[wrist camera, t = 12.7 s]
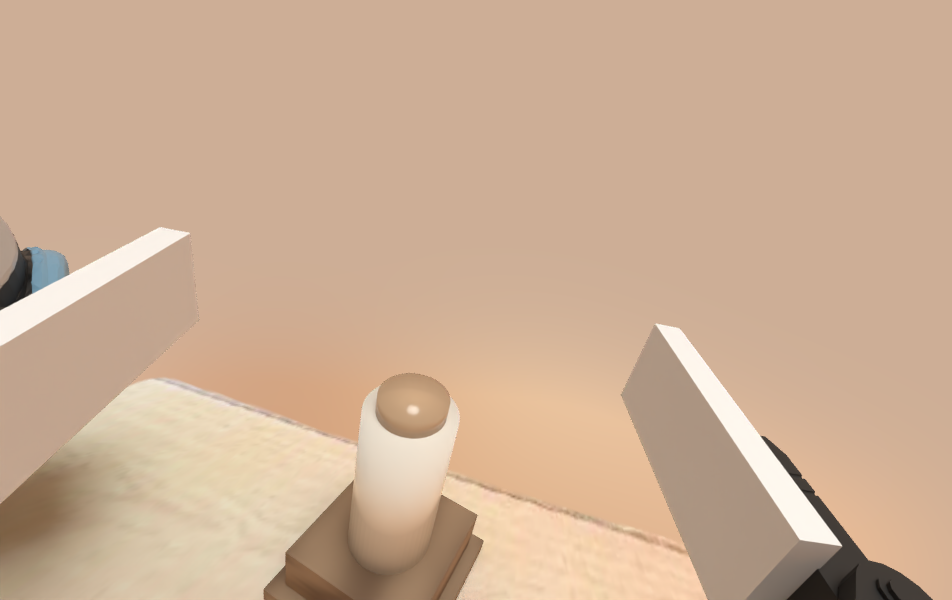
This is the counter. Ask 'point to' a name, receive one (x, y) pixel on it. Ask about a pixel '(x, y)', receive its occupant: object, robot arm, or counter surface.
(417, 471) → the canister
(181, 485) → the counter surface
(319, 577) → the pedestal
